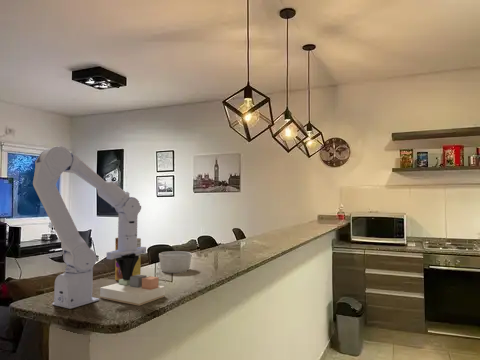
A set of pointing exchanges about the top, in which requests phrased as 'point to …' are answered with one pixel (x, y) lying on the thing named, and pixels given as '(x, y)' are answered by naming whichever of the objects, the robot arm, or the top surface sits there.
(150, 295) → the pad
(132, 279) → the key slate
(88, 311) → the top surface
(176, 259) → the ramekin
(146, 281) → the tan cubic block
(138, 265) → the candy box
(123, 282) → the key sage
